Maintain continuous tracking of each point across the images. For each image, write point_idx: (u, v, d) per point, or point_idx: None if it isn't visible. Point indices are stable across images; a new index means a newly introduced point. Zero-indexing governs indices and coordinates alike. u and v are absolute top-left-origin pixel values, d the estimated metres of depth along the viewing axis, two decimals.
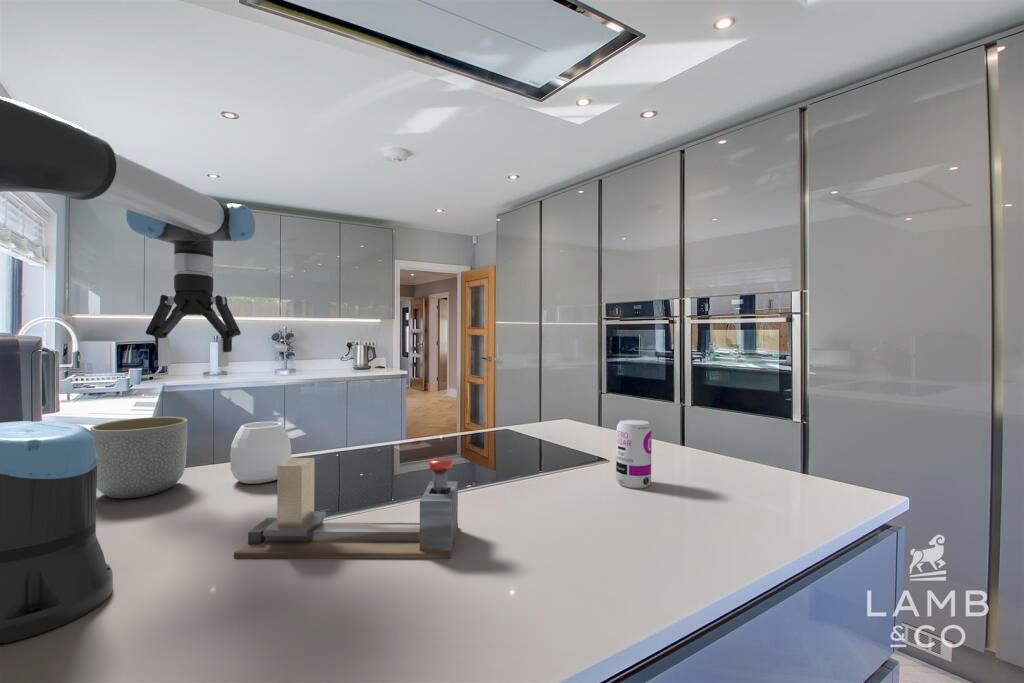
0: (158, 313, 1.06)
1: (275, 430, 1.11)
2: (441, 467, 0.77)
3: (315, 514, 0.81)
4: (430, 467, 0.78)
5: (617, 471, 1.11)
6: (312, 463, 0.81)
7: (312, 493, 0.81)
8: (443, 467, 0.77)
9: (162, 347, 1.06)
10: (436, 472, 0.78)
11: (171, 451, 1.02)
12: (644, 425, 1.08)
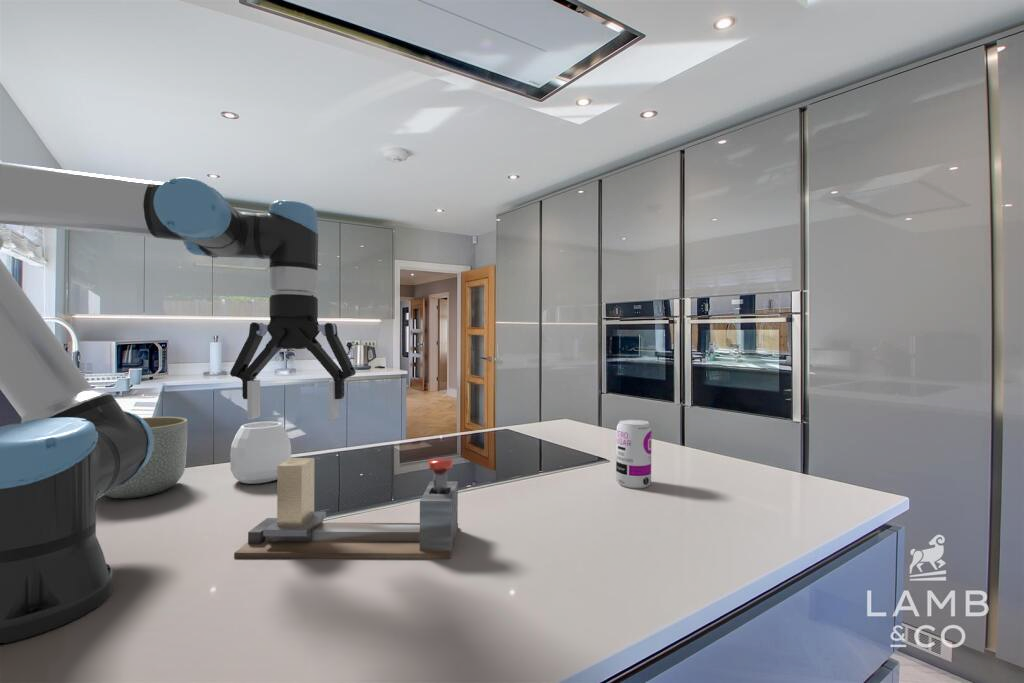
0: (247, 347, 0.78)
1: (275, 430, 1.11)
2: (441, 467, 0.77)
3: (315, 514, 0.81)
4: (430, 467, 0.78)
5: (617, 471, 1.11)
6: (312, 463, 0.81)
7: (312, 493, 0.81)
8: (443, 467, 0.77)
9: (252, 393, 0.78)
10: (436, 472, 0.78)
11: (171, 451, 1.02)
12: (644, 425, 1.08)
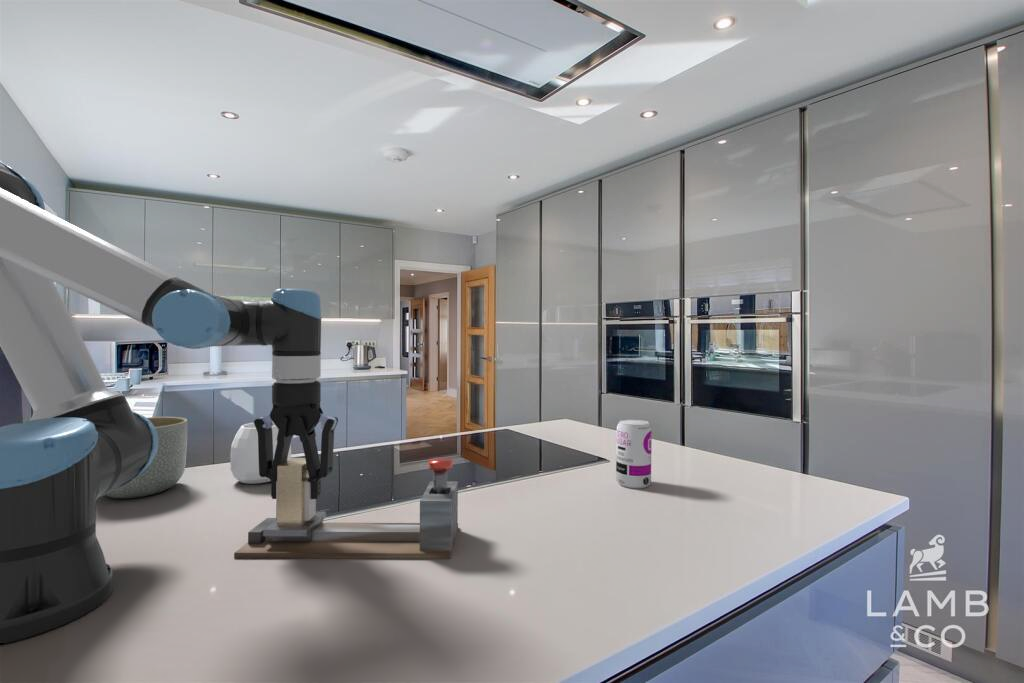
0: (262, 444, 0.77)
1: (275, 430, 1.11)
2: (441, 467, 0.77)
3: None
4: (430, 467, 0.78)
5: (617, 471, 1.11)
6: None
7: None
8: (443, 467, 0.77)
9: None
10: (436, 472, 0.78)
11: (171, 451, 1.02)
12: (644, 425, 1.08)
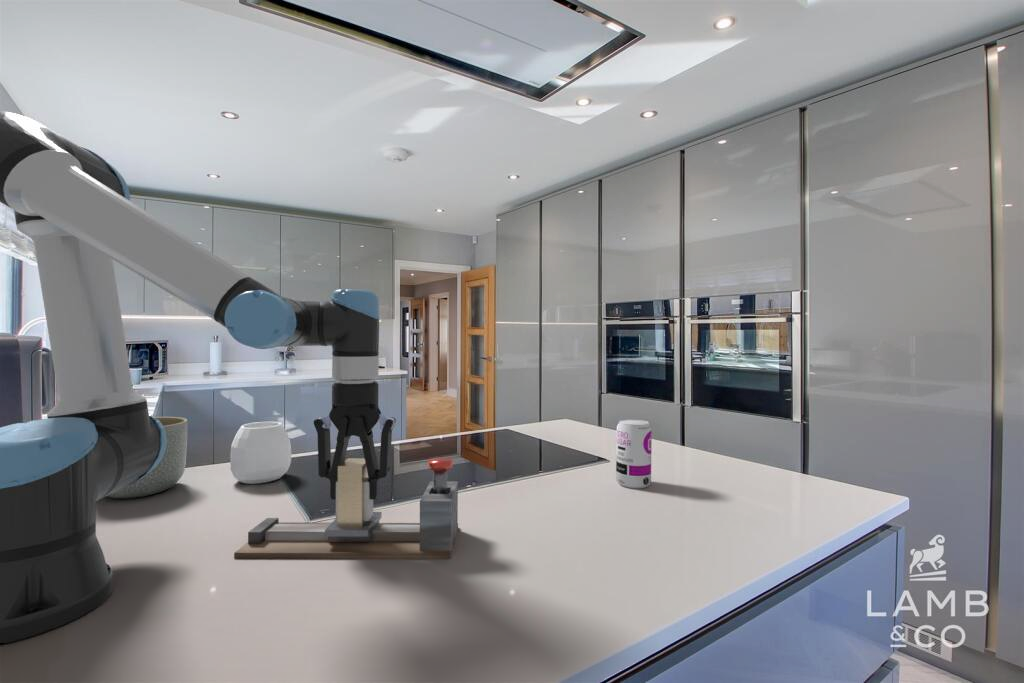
0: (322, 445, 0.78)
1: (275, 430, 1.11)
2: (441, 467, 0.77)
3: None
4: (430, 467, 0.78)
5: (617, 471, 1.11)
6: None
7: None
8: (443, 467, 0.77)
9: None
10: (436, 472, 0.78)
11: (171, 451, 1.02)
12: (644, 425, 1.08)
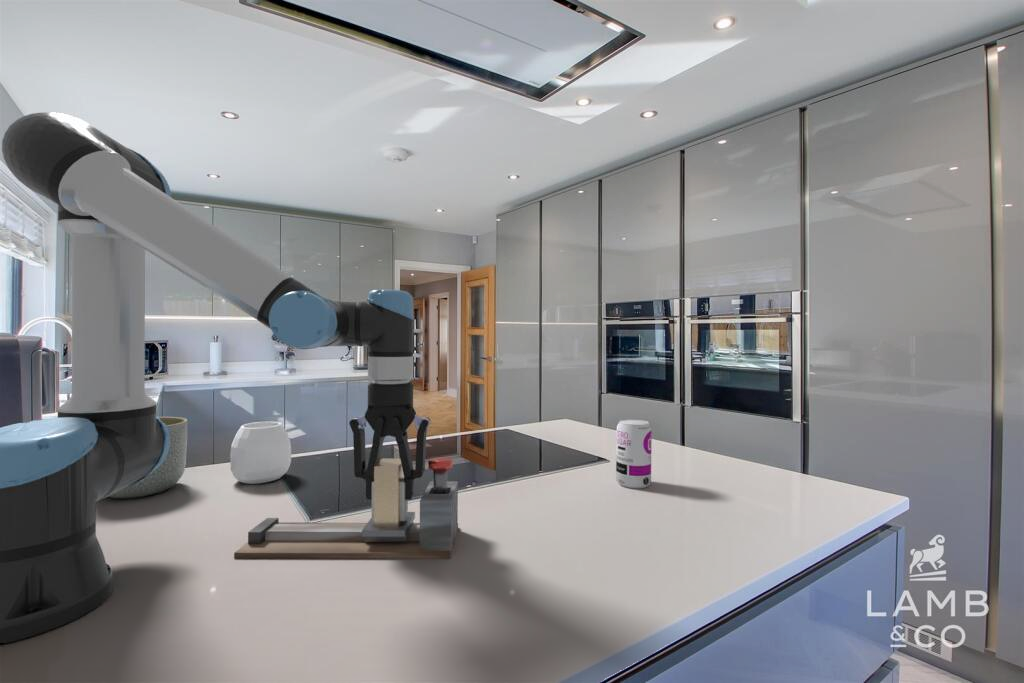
0: (357, 445, 0.78)
1: (275, 430, 1.11)
2: (441, 467, 0.77)
3: None
4: (430, 467, 0.78)
5: (617, 471, 1.11)
6: None
7: None
8: (443, 467, 0.77)
9: None
10: (436, 472, 0.78)
11: (171, 451, 1.02)
12: (644, 425, 1.08)
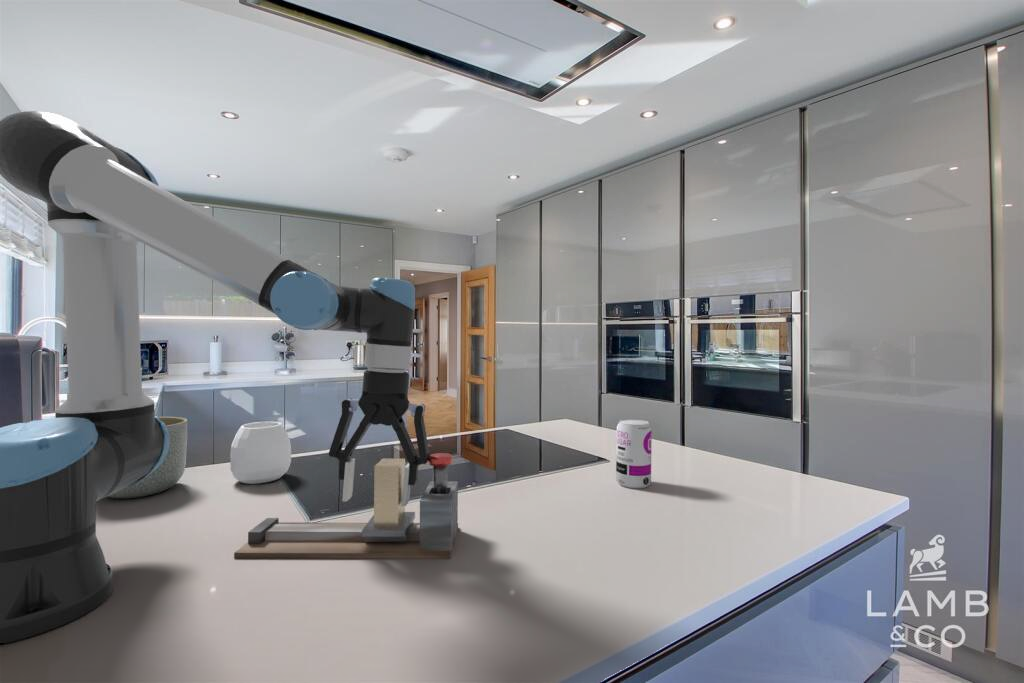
0: (342, 426, 0.78)
1: (275, 430, 1.11)
2: (441, 463, 0.77)
3: (406, 514, 0.82)
4: (430, 463, 0.78)
5: (617, 471, 1.11)
6: (404, 464, 0.81)
7: None
8: (443, 463, 0.77)
9: (349, 475, 0.78)
10: (437, 468, 0.78)
11: (171, 451, 1.02)
12: (644, 425, 1.08)
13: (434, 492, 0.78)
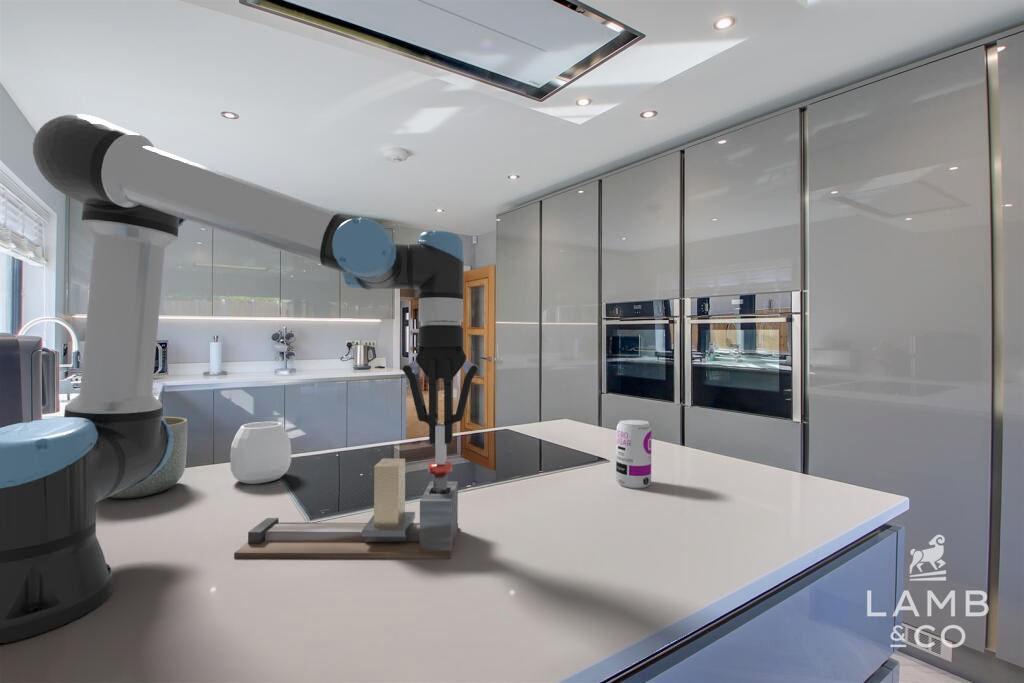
0: (415, 389, 0.78)
1: (275, 430, 1.11)
2: (441, 470, 0.77)
3: (406, 514, 0.82)
4: (430, 471, 0.78)
5: (617, 471, 1.11)
6: (404, 464, 0.81)
7: (404, 493, 0.81)
8: (443, 471, 0.77)
9: (440, 438, 0.78)
10: (436, 476, 0.78)
11: None
12: (644, 425, 1.08)
13: None
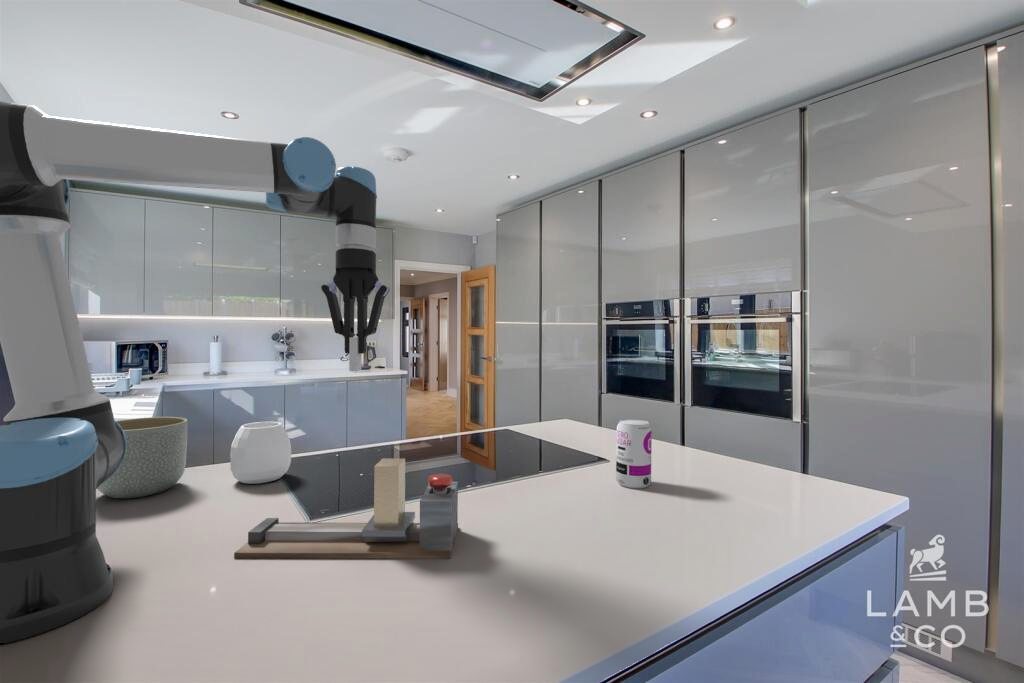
0: (332, 305, 0.89)
1: (275, 430, 1.11)
2: (441, 484, 0.77)
3: (406, 514, 0.82)
4: (430, 484, 0.78)
5: (617, 471, 1.11)
6: (404, 464, 0.81)
7: (404, 493, 0.81)
8: (443, 484, 0.77)
9: (353, 348, 0.90)
10: (436, 489, 0.78)
11: (171, 451, 1.02)
12: (644, 425, 1.08)
13: None
